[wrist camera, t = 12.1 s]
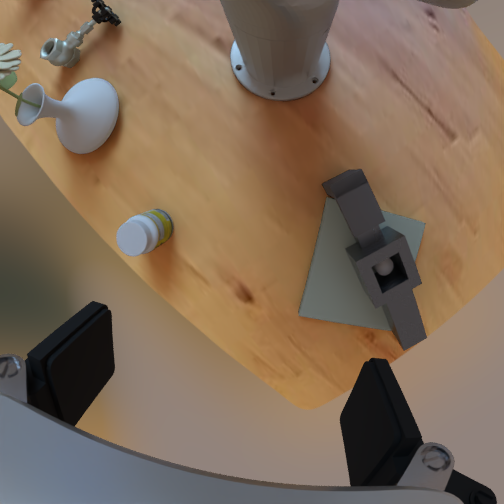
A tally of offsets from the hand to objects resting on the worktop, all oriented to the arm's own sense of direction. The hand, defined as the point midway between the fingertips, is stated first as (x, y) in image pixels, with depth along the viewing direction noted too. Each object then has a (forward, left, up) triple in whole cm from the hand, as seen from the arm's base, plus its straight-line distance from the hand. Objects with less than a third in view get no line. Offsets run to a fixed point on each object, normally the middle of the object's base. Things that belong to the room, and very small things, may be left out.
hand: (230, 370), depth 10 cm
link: (+3, +16, -29) cm, 33 cm away
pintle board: (+1, +13, -30) cm, 33 cm away
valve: (-24, -32, -30) cm, 51 cm away
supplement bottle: (+3, -14, -30) cm, 34 cm away
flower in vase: (-12, -28, -30) cm, 43 cm away
